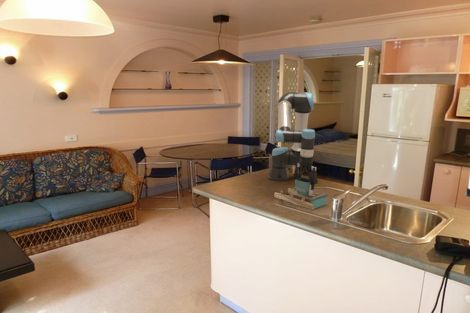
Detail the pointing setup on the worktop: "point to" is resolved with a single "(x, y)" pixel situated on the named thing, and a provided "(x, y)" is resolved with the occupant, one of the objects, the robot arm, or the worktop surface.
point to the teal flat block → (319, 200)
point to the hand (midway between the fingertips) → (304, 192)
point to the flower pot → (302, 186)
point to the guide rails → (296, 201)
